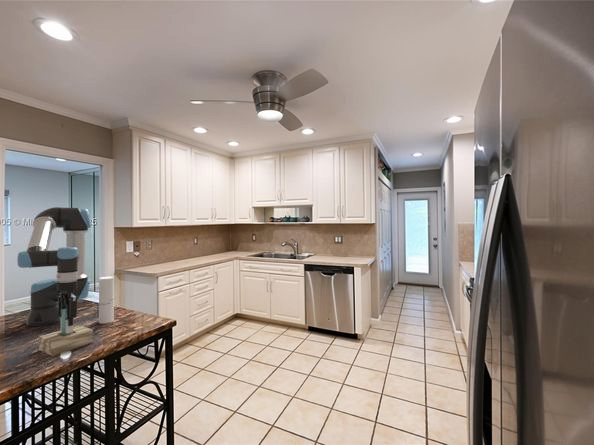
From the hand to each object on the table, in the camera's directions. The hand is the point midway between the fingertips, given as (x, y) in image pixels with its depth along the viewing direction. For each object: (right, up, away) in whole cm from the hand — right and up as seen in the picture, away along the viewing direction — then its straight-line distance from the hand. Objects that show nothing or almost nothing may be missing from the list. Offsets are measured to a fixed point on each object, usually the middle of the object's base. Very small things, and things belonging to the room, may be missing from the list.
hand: (66, 331), depth 134 cm
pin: (0, -4, 0) cm, 4 cm away
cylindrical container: (-3, -7, +33) cm, 33 cm away
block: (0, -7, 0) cm, 7 cm away
